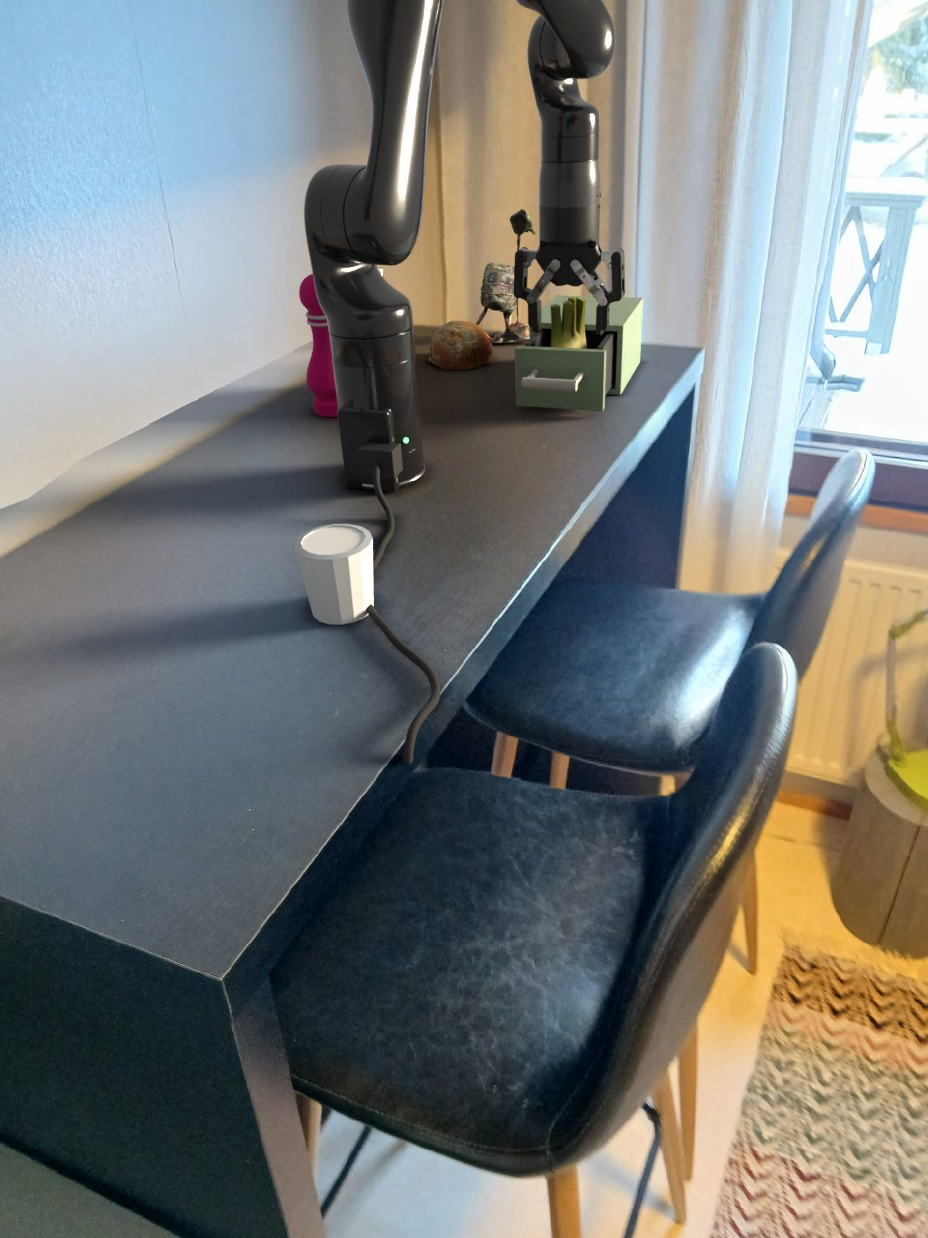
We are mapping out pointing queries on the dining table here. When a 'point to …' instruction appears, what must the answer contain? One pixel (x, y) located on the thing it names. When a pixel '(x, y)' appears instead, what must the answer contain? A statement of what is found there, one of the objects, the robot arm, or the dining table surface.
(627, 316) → the green drawer cabinet
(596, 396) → the green pull-out drawer
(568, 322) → the fennel bulb
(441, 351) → the bread roll
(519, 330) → the grey irregular tall piece
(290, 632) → the dining table surface
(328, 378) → the pepper mill
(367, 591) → the shot glass
